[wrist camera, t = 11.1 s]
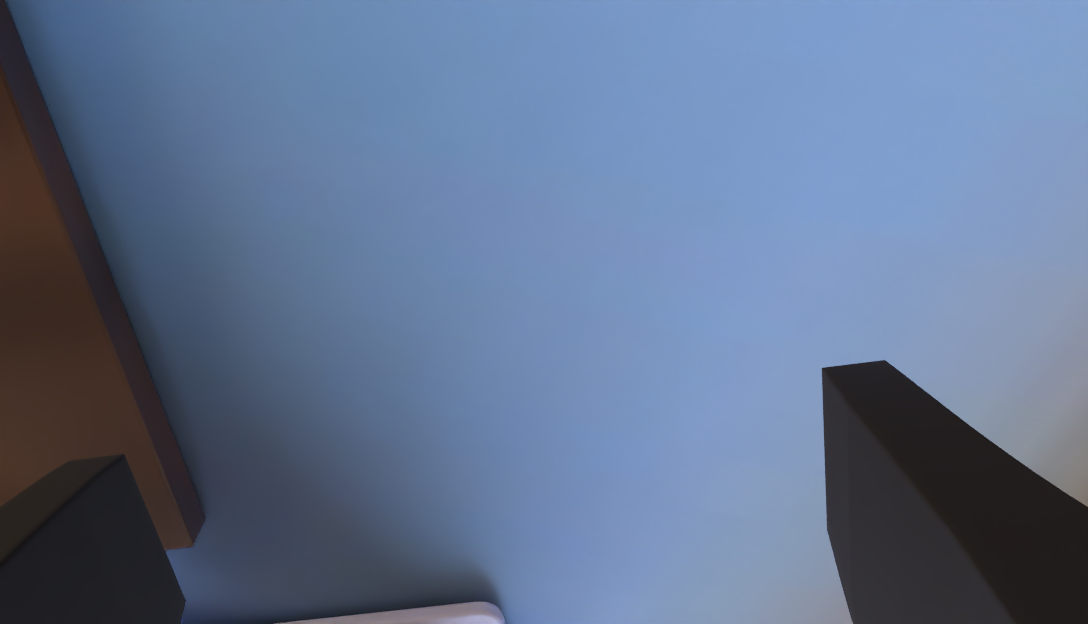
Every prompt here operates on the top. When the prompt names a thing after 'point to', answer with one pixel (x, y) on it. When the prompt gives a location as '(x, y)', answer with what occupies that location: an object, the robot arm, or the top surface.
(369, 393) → the top surface
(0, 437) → the board
